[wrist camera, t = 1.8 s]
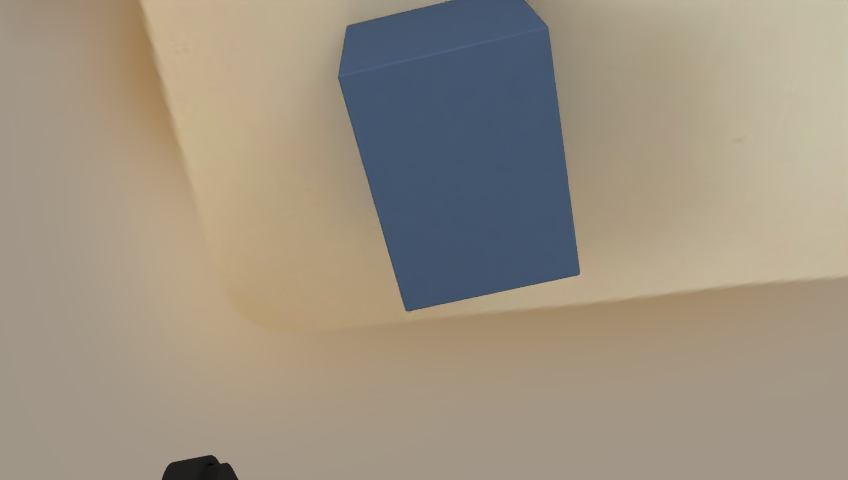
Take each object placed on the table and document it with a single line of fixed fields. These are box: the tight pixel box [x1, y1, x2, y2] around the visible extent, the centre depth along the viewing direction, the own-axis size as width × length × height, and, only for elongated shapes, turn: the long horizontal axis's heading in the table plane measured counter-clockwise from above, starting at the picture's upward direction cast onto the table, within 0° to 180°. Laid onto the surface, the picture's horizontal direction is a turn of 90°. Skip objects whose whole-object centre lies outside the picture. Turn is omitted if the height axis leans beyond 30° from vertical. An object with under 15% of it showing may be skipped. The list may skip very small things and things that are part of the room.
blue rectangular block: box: [338, 0, 580, 311], centre depth 20 cm, size 5×7×5 cm
